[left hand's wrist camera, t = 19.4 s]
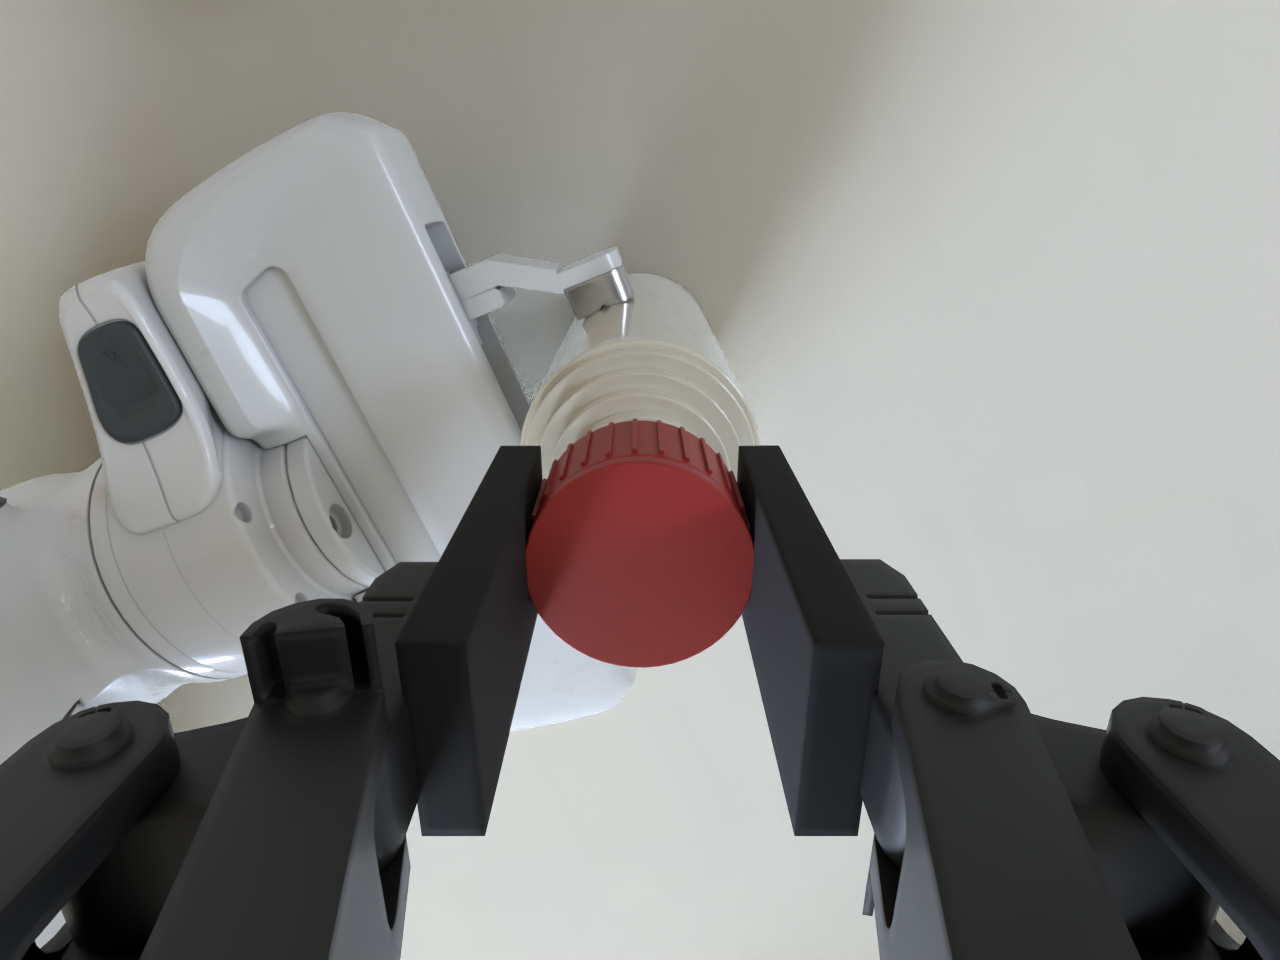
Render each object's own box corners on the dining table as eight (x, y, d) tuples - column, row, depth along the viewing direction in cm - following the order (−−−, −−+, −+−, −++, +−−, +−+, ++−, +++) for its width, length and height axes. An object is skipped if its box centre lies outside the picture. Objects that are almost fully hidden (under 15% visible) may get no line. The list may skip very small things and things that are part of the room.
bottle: (676, 431, 31) (722, 726, 14) (550, 382, 30) (437, 633, 13) (732, 305, 29) (860, 470, 12) (599, 250, 28) (539, 344, 11)
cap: (633, 373, 13) (632, 408, 11) (784, 508, 14) (808, 564, 12) (496, 520, 14) (472, 577, 12) (645, 637, 15) (647, 708, 13)
